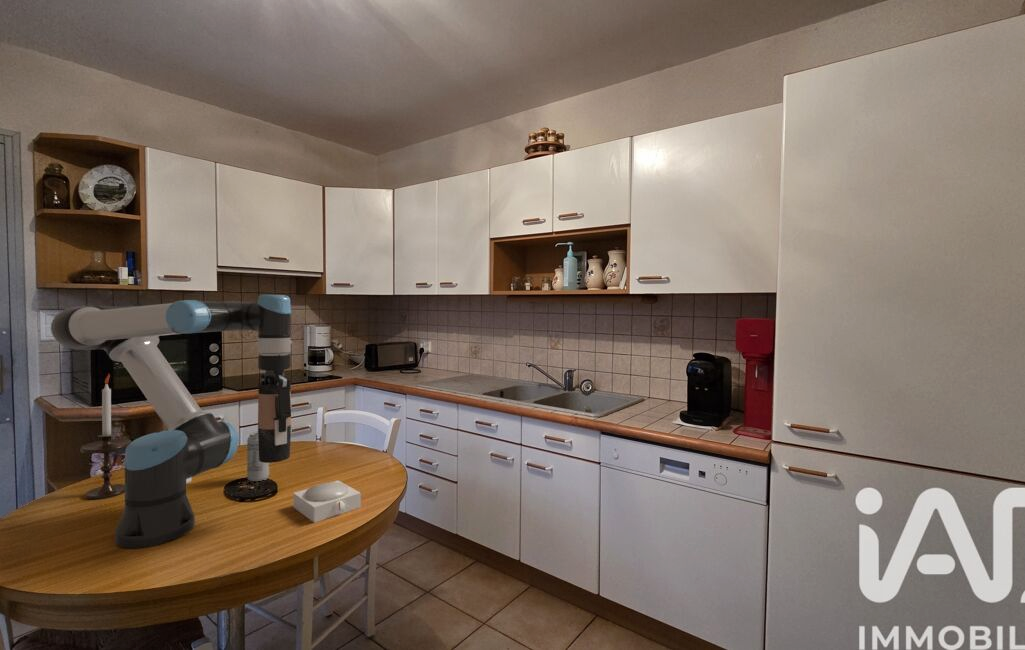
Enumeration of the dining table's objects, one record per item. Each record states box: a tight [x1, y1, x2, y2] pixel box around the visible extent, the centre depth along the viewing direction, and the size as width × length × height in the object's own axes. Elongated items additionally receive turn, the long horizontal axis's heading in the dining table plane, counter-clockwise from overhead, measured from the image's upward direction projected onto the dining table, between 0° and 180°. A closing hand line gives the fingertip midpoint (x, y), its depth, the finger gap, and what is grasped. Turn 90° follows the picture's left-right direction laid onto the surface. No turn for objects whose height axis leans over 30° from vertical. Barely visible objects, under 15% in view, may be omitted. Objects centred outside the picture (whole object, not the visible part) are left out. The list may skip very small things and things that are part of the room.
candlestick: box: [80, 374, 132, 501], centre depth 129 cm, size 11×11×35 cm
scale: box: [292, 480, 362, 524], centre depth 124 cm, size 13×14×5 cm
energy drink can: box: [246, 430, 270, 482], centre depth 142 cm, size 6×6×15 cm
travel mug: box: [257, 381, 292, 464], centre depth 117 cm, size 8×8×20 cm
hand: (274, 440), depth 117 cm, fingers closed on travel mug, 8 cm apart
